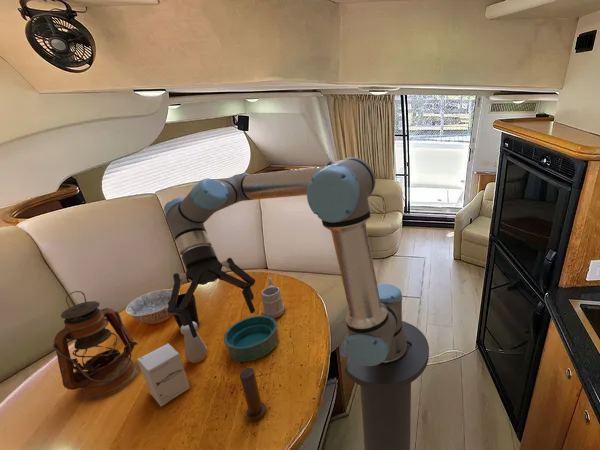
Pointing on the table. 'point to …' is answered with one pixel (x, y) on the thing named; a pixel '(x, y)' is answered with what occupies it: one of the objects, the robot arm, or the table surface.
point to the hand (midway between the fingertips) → (225, 323)
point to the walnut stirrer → (252, 395)
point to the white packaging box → (164, 373)
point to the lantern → (102, 367)
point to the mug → (272, 301)
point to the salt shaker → (193, 345)
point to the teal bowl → (251, 338)
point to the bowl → (151, 307)
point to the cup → (190, 307)
